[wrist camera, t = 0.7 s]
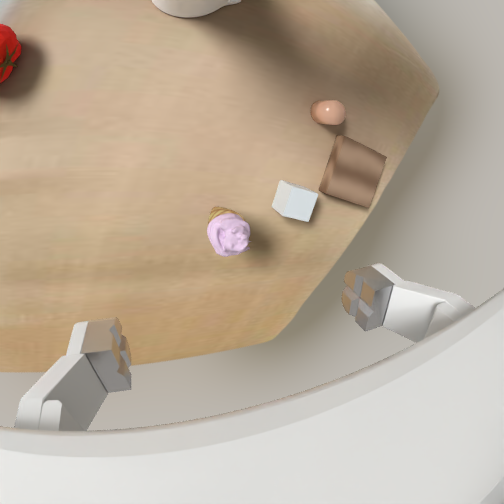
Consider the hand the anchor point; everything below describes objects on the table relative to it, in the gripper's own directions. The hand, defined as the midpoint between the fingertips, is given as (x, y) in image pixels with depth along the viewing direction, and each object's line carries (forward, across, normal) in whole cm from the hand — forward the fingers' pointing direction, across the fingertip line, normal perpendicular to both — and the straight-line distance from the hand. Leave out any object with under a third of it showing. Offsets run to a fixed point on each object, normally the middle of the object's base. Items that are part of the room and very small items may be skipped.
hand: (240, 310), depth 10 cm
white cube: (+42, -21, +9) cm, 48 cm away
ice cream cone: (+42, -6, +11) cm, 44 cm away
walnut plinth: (+42, -35, +5) cm, 55 cm away
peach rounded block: (+42, -28, -7) cm, 51 cm away
